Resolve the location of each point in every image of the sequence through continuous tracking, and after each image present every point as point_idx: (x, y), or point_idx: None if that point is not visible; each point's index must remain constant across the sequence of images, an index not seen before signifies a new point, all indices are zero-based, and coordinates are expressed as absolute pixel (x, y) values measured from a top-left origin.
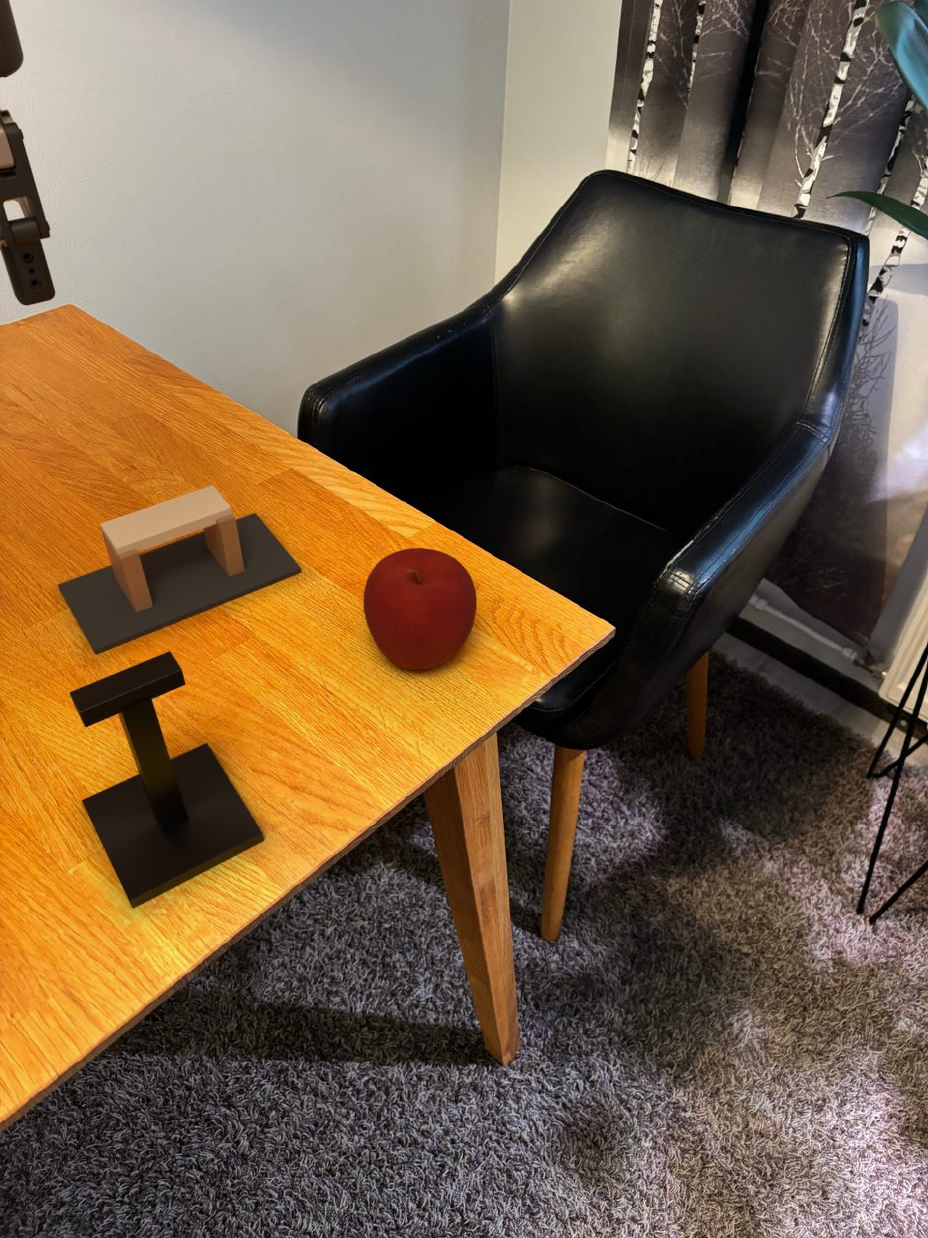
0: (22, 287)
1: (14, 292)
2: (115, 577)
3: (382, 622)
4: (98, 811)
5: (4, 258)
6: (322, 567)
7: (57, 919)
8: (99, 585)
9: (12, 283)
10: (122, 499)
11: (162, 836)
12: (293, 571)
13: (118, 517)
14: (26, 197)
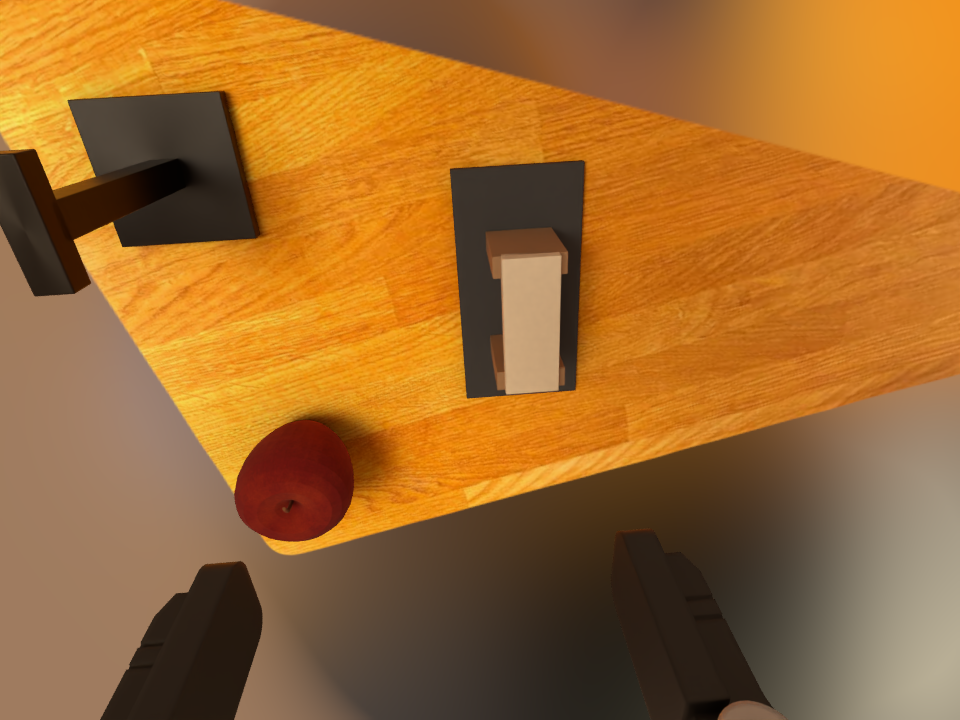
0: (172, 622)
1: (214, 582)
2: (550, 228)
3: (265, 453)
4: (197, 104)
5: (144, 698)
6: (463, 413)
7: (80, 18)
8: (554, 207)
9: (187, 613)
10: (695, 273)
11: (143, 157)
12: (466, 390)
13: (560, 279)
14: None
